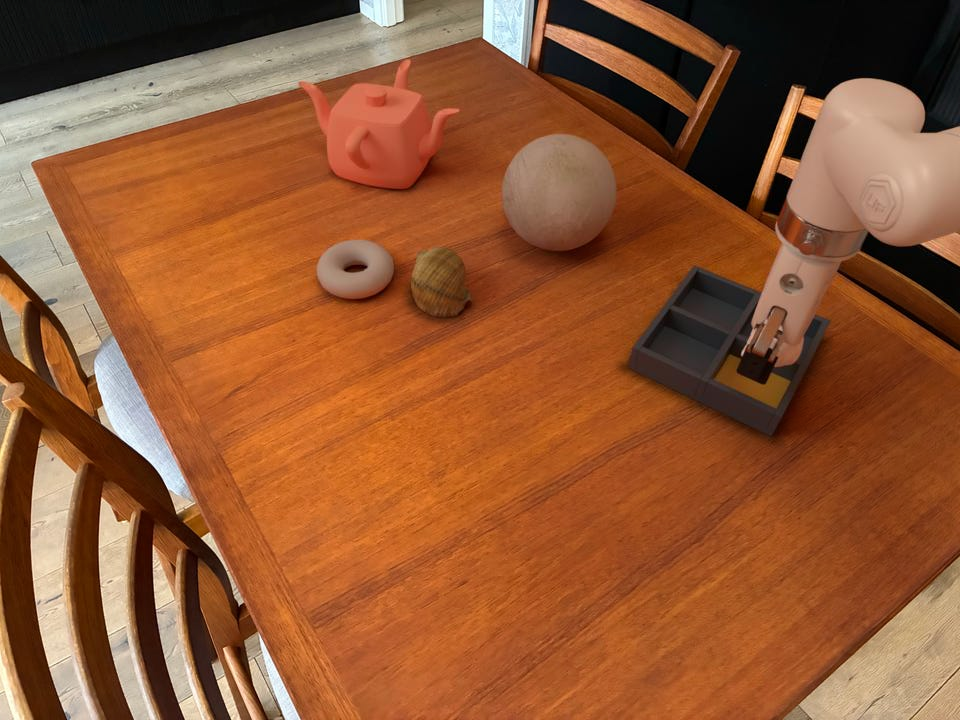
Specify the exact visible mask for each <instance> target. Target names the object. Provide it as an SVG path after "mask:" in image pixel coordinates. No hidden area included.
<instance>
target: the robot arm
mask: <svg viewBox="0 0 960 720" xmlns="http://www.w3.org/2000/svg"><path fill="white" fill-rule="evenodd" d="M925 120H926V110H925V107H924V104H923V102H922V101H921V99H920V97H918V95H916V93H914V92H913V91H912V90H910V89H908V88H907V87H906V86H905V87H904V86H903V85H901V84H898V83H894V82H893V81H892V82H891V81H887V80H885V79H884V80H883V79H878V78H869V77H868V78H867V77H865V78H864V77H863V78H862V77H861V78H854V79H849V80H846V81H844V82H843V81H842V82H841V83H839V84H838V85H836V86H835V87H834V88H832V89H831V91H830V92H829V93H828V94H827V95H826V97H825V98H824V100H823V103H822V104H821V106H820V109H819V111H818V115H817V117H816V120H815V122H814V125H813V127H812V130H811V132H810V135H809V137H808V140H807V143H806V145H805V147H804V150H803V153H802V156H801V158H800V160H799V163H798V166H797V168H796V171H795V174H794V176H793V178H792V181H791V184H790V187H789V188H788V191H787V194H786V197H785V199H784V202H783V203H782V204H783V205H782V207H781V208H780V209H781V210H780V212H779V215H778V218H777V219H776V222H775V225H774V230H775V234H776V237H777V238H778V240H779V241H780V242H781V244H780V246H779V249H778V251H777V254H776V256H775V259H774V261H773V263H772V265H771V268H770V270H769V273H768V276H767V278H766V280H765V283H764V286H763V289H762V293H761V296H760V299H759V301H758V304H757V307H756V310H755V313H754V315H753V318H752V322H751V325H752V327H753V329H754V330H755V329H756V328H757V329H756V331H755V333H754V335H753V338H752V340H751V342H750V344H748V345H747V346H746V349H745V351H744V353H743V356H742V358H741V361H740V363H739V365H738V368H737V370H736V371H737V373H738V374H740V375H742V376H744V377H746V378H749V379H751V380H753V381H755V382H758V383H760V384H762V385H765V384H766V382H767V381H768V379H769V376H770V374H771V372H772V370H773V368H774V366H775V364H776V362H777V360H778V357H777V356H776V355H777V353H778V351H779V349H780V347H781V345H782V343H783V341H784V343H787V344H790V345H791V346H795V345H797V344H799V343H800V341H801V340H802V338H803V336H804V334H805V332H806V331H807V329H808V327H809V325H810V323H811V321H812V320H813V318H814V316H815V314H816V315H817V312H818V310H819V309H820V307H821V304H822V302H823V300H824V298H825V297H826V294H827V292H828V291H829V289H830V286H831V285H832V282H833V281H834V279H835V276H836V275H837V272H838V271H839V268H840V266H841V263H842V262H844V261H848V260H851V259H852V258H854V257H855V256H857V254H858V253H859V252H860V250H861V249H862V246H863V244H864V242H865V240H866V238H867V237H868V234H869V233H870V235H872V236H873V237H874V238H876V240H878V241H880V242H881V243H884V244H887V245H889V246H893V247H912V246H916V245H917V246H918V245H920V244H924V243H927V242H930V241H933V240H936V239H940V238H943V237H946V236H949V235H952V234H955V233H958V232H960V125H959V126H956V127H953V128H949V129H945V130H942V131H938V132H921V131H922V129H923V126H924V124H925ZM766 319H767V322H766V324H764V323H765V321H766ZM780 325H781V326H782V330H783V331H780V330H778V329H779V327H780ZM774 338H776V339H778V340H777V342H776V344H775V346H774V348H773V350H772V349H771V348H770V345H771V343H772V341H773V339H774Z"/></svg>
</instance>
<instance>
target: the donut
mask: <svg viewBox="0 0 960 720" xmlns="http://www.w3.org/2000/svg"><path fill="white" fill-rule="evenodd" d="M358 265H359V266H365V267H367V268H365V269H363V270H361V271H356V272H350V271H345V269H347V268H349V267H352V266H358ZM394 272H395V263H394V259H393V257H392V255H391V254H390V252H389V251H388V249H387V248H385V247H383V245H381V244H379V243H377V242H374V241H372V240H368V239H362V238H361V239H359V238H357V239H355V238H354V239H346V240H344V241H340V242H338V243H335V244H334V245H331V246H330V247H329V248H327V249H326V251H324V252H323V253H322V254H321V256H320V258H319V260H318V262H317V265H316V277H317V280H318V281H319V283H320V285H321V287H322V288H323V289H324V290H326V291H327V292H329V294H331V295H333V296H335V297H338V298H341V299H349V300H357V299H359V300H360V299H365V298H368V297H371V296H375V295H376V294H378V293H380V292H381V291H383V290H384V289H385V288H386V287H387V286H388V285H389V284H390V282H391V281H392V278H393V277H394V276H393V275H394V274H395V273H394Z"/></svg>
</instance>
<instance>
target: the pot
mask: <svg viewBox="0 0 960 720" xmlns="http://www.w3.org/2000/svg"><path fill="white" fill-rule="evenodd" d="M411 63H412V61H411V59H404V60H403V61H402V62H401V63H400V64H399V66H398V68H397V72H396V76H395V80H394V83H393V86H391V85H384V84H375V83H363V82H361V83H355V84H353V85H352V86H351V87H350V88H348V89H347V90H346V91H345V93H343V95H342V96H341V97H340V98H339V99H338V101H337V102H336V103H335V105H333V107H332V108H331V106H330V104H329V102H328V100H327V98H326V97H325V94H324V93H323V92H322V90H321V89H320V88H319V87H318V86H316V85H315V84H313V83H311V82H308V81H303V80H301V81H297V84H298V86H299V87H301V88H302V89H303V90H304V92H306V93H307V94H308V95H309V97H310V99H311V100H312V102H313V105H314V110H315V113H316V117H317V122H318V125H319V127H320V129H321V131H322V133H323V134H324V136H325V137H326V152H327V154H326V155H327V161H328V164H329V166H330V168H331V169H332V171H333V172H334V174H335V175H336V176H338V177H340V178H342V179H345V180H348V181H351V182H354V183H356V184H357V183H359V184H361V185H366V186H371V187H377V188H384V189H394V190H406V189H409V188H411V187H412V186H413V185H414V184H415V183H416V181H417V180H418V179H419V177H420V176H421V175H422V173H423V171H424V170H425V168H426V167H427V165H428V163H429V161H430V159H431V158H433V156H434V155H436V153H438V151H439V149H440V148H441V145H442V143H443V137H444V131H445V125H446V123H447V120H448V119H449V118H450V117H452V116H453V115H457V114H458V113H459V112H460V109H459V108H452V107H450V108H449V107H447V108H443V109H440V110H439V111H438V112H437V113H436V114H435V115H434V117H433V120H432V119H431V116H430V113H429V110H428V106H427V103H426V101H425V99H424V96H423V95H422V94H420V93H418V92H415V91H412V90H410V89H409V88H410V87H409V73H410V68H411Z"/></svg>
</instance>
